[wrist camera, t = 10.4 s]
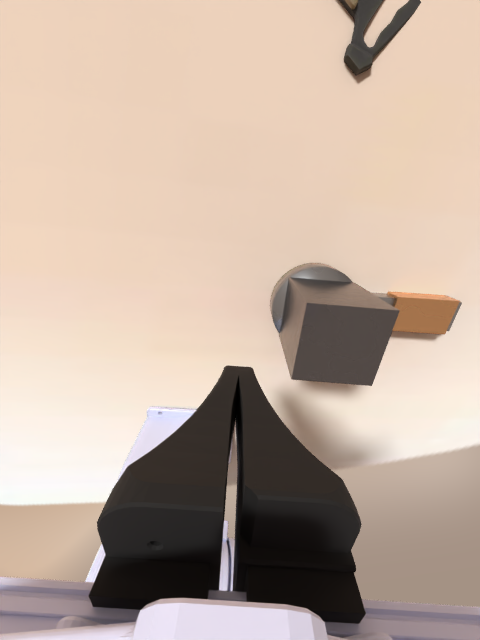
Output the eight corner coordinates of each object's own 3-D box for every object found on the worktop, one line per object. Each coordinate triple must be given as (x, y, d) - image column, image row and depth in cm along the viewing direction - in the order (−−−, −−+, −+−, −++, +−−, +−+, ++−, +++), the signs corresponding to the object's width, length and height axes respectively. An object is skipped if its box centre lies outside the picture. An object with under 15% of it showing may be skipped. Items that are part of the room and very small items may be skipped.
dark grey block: (279, 335, 20) (291, 379, 15) (288, 277, 18) (306, 302, 13) (338, 340, 20) (371, 385, 15) (354, 282, 18) (400, 310, 13)
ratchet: (266, 335, 22) (271, 364, 18) (275, 260, 20) (283, 272, 15) (429, 346, 23) (473, 377, 18) (461, 272, 20) (523, 288, 15)
